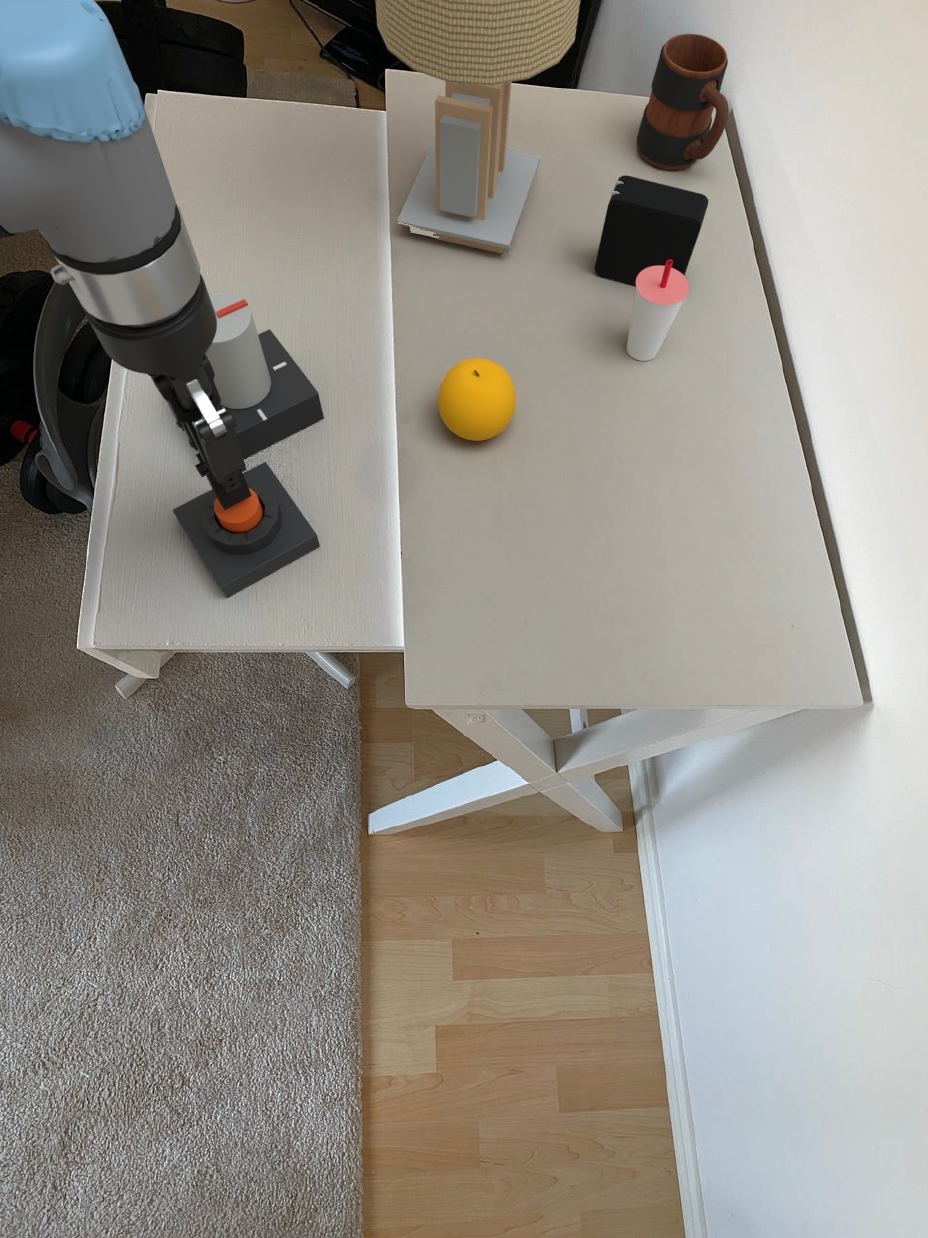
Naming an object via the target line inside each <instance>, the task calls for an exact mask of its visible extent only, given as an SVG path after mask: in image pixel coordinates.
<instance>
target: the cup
mask: <svg viewBox="0 0 928 1238" xmlns="http://www.w3.org/2000/svg"><path fill="white" fill-rule="evenodd" d="M672 264H673V261H672V260H671V259H670V260H668V261H667V262H666V265H665V266H651V267H648V268H646V269H644V270H642V271H641V272H640V273H639V274H638V276H637V278H636V286H635V292H634V298H633V302H632V303H633V304H632V309H631V317H630V323H629V328H628V336H627V342H626V343H627V344H626V351H627V353H628V355H629V356H630V357H631V358H633V360H634V359H635V360H637V361H640V362H646V361H647V362H648V361H651V360H653V359H654V358H655V357H656V356H657V354H658V352H659V350H660V349H661V347H662V345H663V343H664V341H665V339H666V337H667V335H668V333H669V331H670V329H671V327H672V325H673V323H674V321H675V318H676V316H677V315H678V313H679V311H680V309H681V306H682V304H683V302H684V300H685V299H686V298H687V296H688V295H689V293H690V284H689V283H690V282H689V280H688V278H687V277H686V276H685V275H683V274H682V273H680V272H679V271H678V270H676V269H674V268H671V267H672Z"/></svg>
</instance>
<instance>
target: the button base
mask: <svg viewBox="0 0 928 1238" xmlns="http://www.w3.org/2000/svg"><path fill="white" fill-rule="evenodd" d="M242 473H243V475H244V478H245V480H246V483H247V485H248V487H249V488H250V489H252V490H253V491H254V492H255V493H256V495H257V497H258V499H259V502H260V504H261V507H262V518H261V520H260V522H259V523H258V524H257V525H256V526H255V527H254V528H253V529H251V530H249V531H246V532H241V533H236V532H231V531H229V530H227V529H225V528H224V527H223V526H222V525H221V523H220V521H219V519H218V517H217V515H216V513H215V510H214V502H215V499H216V495H215V493H214V491H213V489H212V488H211V489H210V490H207V491H206V492H204V493H201V494H200V495H198V496H196V497H194V498H192V499H190V500H188V501H186V502H184V503H182V504H181V505H178V506H176V507H175V508H173V509H172V513H173V514H174V516H175V517H176V519H177V521H178V522H179V524H180V525H181V527H182V529H183V530H184V533H185V534H186V535H187V537H188V538H189V540H190V542H191V543H192V545H193V546H194V548H195V550H196V551H197V553H198V555H199V556H200V558H201V559H202V561H203V563H204V564H205V566H206V567H207V569H208V570H209V572H210V575H212V577H213V579H214V581H215V582H216V583H217V585H218V587H219V588H220V590H221V591H222V593H223V595H224V596H225V598H226V599H229V598H230V597H231V596H234V595H235V594H237V593H239V592H240V591H243V590H244V589H246V588H248V587H250V586H252V585H253V584H255V583H257V582H259V581H261V580H262V579H264V578H266V577H268V576H269V575H272V574H274V573H275V572H277V571H278V570H281V569H282V568H284V567H286V566H288V565H289V564H291V563H293V562H295V561H296V560H298V559H300V558H301V557H304V556H306V555H307V554H309V553H311V552H313V551H314V550H317V549H318V548H320V547H321V545H320V544H321V543H320V541H319V538H318V537H319V536H318V534H317V533H316V531H315V530H314V528H313V527H312V526H311V524H310V523H309V521H308V520H307V518H306V517H305V516H304V514H303V513H302V511H301V509H300V508H299V507H298V506H297V504H296V502H295V501H294V500H293V498H292V497H291V495H290V494H289V493H288V491H287V490H286V488H285V487H284V485H283V484H282V482H281V481H280V479H278V477H277V475H276V474H275V473H274V471H273V470H272V468H271V467H270V465H269V464H268V463H267V461H263V462H262V463H260V464H258V465H256V466H254V467H252V468H250V469H249V470H245V471H243V472H242Z"/></svg>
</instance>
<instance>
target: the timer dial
mask: <svg viewBox="0 0 928 1238" xmlns="http://www.w3.org/2000/svg"><path fill="white" fill-rule="evenodd" d="M208 294H209V296H210V299H211V302H212V305H213V308H214V311H215V314H216V318H217V330H216V335H215V338H214V340H213V342H212V344H211V346H210V347H209V349H208V350H207V352H206V353H205V355H206V356H207V358H208V359H209V361H210V363H211V366H212V368H213V371H214V373H215V377H214V383H215V386H216V388H217V391H218V393H219V396H220V398H221V403H220V404H221V405H222V406H224V407H227V408H231V409H244V408H249V407H252V406H254V405H256V404H258V403H259V402H261V401H262V400H263V399H264V398H265V397H266V396H267V394H268V393H269V390H270V387H271V379H270V375H269V372H268V368H267V365H266V361H265V358H264V354H263V351H262V347H261V344H260V340H259V337H258V330H257V327H256V323H255V320H254V316H253V313H252V310H251V307H250V305H249V303H248V302H247V299H245V298H243V297H241V296H239V295H237V294H235V293H230V292H224V291H217V292H216V291H215V292H210V293H208Z"/></svg>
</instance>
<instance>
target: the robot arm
mask: <svg viewBox="0 0 928 1238" xmlns="http://www.w3.org/2000/svg"><path fill="white" fill-rule="evenodd" d="M33 230H38V232H39V233H40V234H41V236H42V237H43V239H44V241H45V243H46V245H47V247H48V249H49V250H50V253H51V254H52V255H53V256H54V259H56V262H58V265H55V266H54V267H52V268H50V274H51V277H52V279H53V281H54V282H55V283H57V284H58V285H60V286H63V285H67V284H68V283H69V285H70V287H71V289H72V291H73V292H74V294H75V296H76V298H77V299H78V301H79V303H80V305H81V306H82V308H83V311H84V315H85V316H86V319H87V320H88V322H89V324H90V326H91V328H92V329H93V331H94V333H95V335H96V338H97V339H98V341H99V343H100V345H101V346H102V348H103V350H104V351H105V353H106V354H107V356H108V357H109V358H110V359H111V360H112V361H113V362H115V363H116V364H117V365H118V366H120V367H122V368H124V369H127V370H128V371H131V372H134V373H137V374H144V375H145V374H146V375H147V376H149V377H150V378H151V380H152V382H153V384H154V386H155V388H156V389H157V391H158V392H159V394H160V395H161V397H162V398H163V399H164V400H165V401H166V403H167V405H168V407H169V408H170V410H171V412H172V414H173V416H174V418H175V420H176V422H175V423H176V425H177V427H178V429H181V430H182V432H185V435H186V437H187V439H188V444H189V445H190V447H191V449H192V448H193V449H194V450H195V452H197V451H198V453H196V454H195V457H196V458H197V460H198V462H199V463H197V464H195V465H194V467H195V468H196V470H197V472H198V474H199V475H200V477H201V478H204V477H205V476H206V478H207V481H208V483H209V485H210V488H211V489H213V491H214V493H215V495H216V497H217V499H218V501H219V502H220V504H221V505H222V507H223V508H224V510H226V509H228V508H230V507H232V506H234V505H236V504H238V503H239V502H241V501H243V500H245V499H247V498H249V497H251V496H252V495H251V492H250V490H249V487H248V485H247V483H246V480H245V478H244V475H243V473H244V472H246V471H247V466H246V465H247V464H246V462H245V459H243V455H242V452H241V448H240V445H239V441H238V437H237V434H236V427H237V425H236V422H235V421H236V419H235V417H234V415H233V414H231V413H230V412H229V411H226V410H225V408H224V407H221V408H219V409H217V407H218V406H219V404H220V403H221V398H220V396H219V393H218V391H217V388H216V386H215V383H214V377H215V373H214V371H213V368H212V366H211V363H210V361H209V359H208V358H207V356H206V355H205V353H206V352H207V350H208V349H209V347H210V346H211V344H212V342H213V340H214V338H215V335H216V330H217V318H216V314H215V311H214V308H213V305H212V302H211V299H210V296H209V294H210V293H209V291H208V288H207V285H206V282H205V280H204V277H203V275H202V273H201V266H200V263H199V259H198V257H197V254H196V252H195V251H196V250H195V248H194V246H193V243H192V240H191V237H190V234H189V231H188V228H187V226H186V222H185V219H184V217H183V214H182V211H181V208H180V207H179V205H178V203H177V202H176V198H175V195H174V192H173V189H172V187H171V183H170V181H169V177H168V174H167V171H166V167H165V165H164V162H163V159H162V155H161V152H160V150H159V147H158V144H157V141H156V137H155V135H154V132H153V129H152V126H151V122H150V119H149V117H148V113H147V111H146V107H145V104H144V101H143V99H142V96H141V93H140V90H139V87H138V85H137V83H136V82H135V81H134V79H133V76H132V73H131V71H130V69H129V65H128V64H127V61H126V58H125V55H124V54H123V50H122V48H121V46H120V44H119V42H118V39H117V36H116V34H115V31H114V29H113V26H112V25H111V23H110V21H109V19H108V17H107V15H106V14H105V12H104V11H103V9H102V7H100V6H99V5H98V3H97V2H96V1H95V0H0V239H5V238H10V237H14V236H16V234H18V233H25V232H29V231H33Z"/></svg>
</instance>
